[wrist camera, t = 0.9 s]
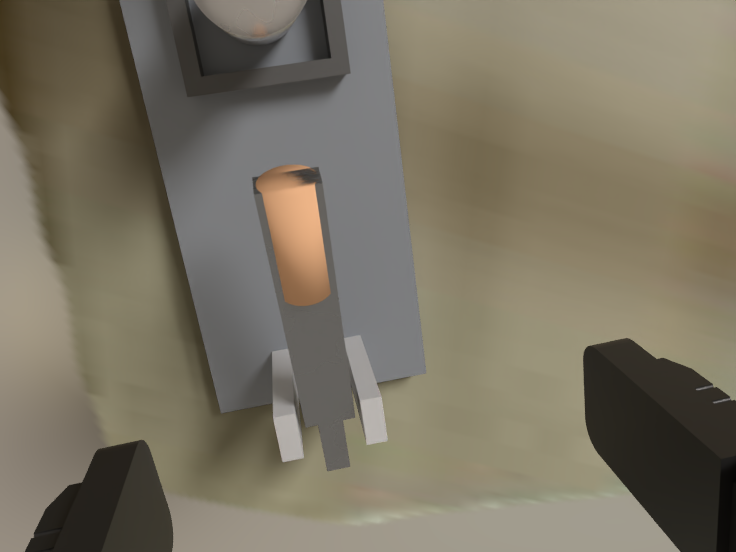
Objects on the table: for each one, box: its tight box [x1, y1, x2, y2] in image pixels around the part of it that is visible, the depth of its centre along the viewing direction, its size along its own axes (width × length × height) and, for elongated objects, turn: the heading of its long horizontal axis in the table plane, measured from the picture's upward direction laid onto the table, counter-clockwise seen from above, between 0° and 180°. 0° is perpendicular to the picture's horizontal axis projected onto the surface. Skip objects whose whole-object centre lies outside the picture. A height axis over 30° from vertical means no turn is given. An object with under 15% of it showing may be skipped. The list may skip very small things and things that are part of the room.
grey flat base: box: [119, 0, 426, 462], centre depth 29 cm, size 30×12×8 cm, turn 8°
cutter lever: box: [252, 165, 355, 471], centre depth 28 cm, size 17×2×2 cm, turn 8°
